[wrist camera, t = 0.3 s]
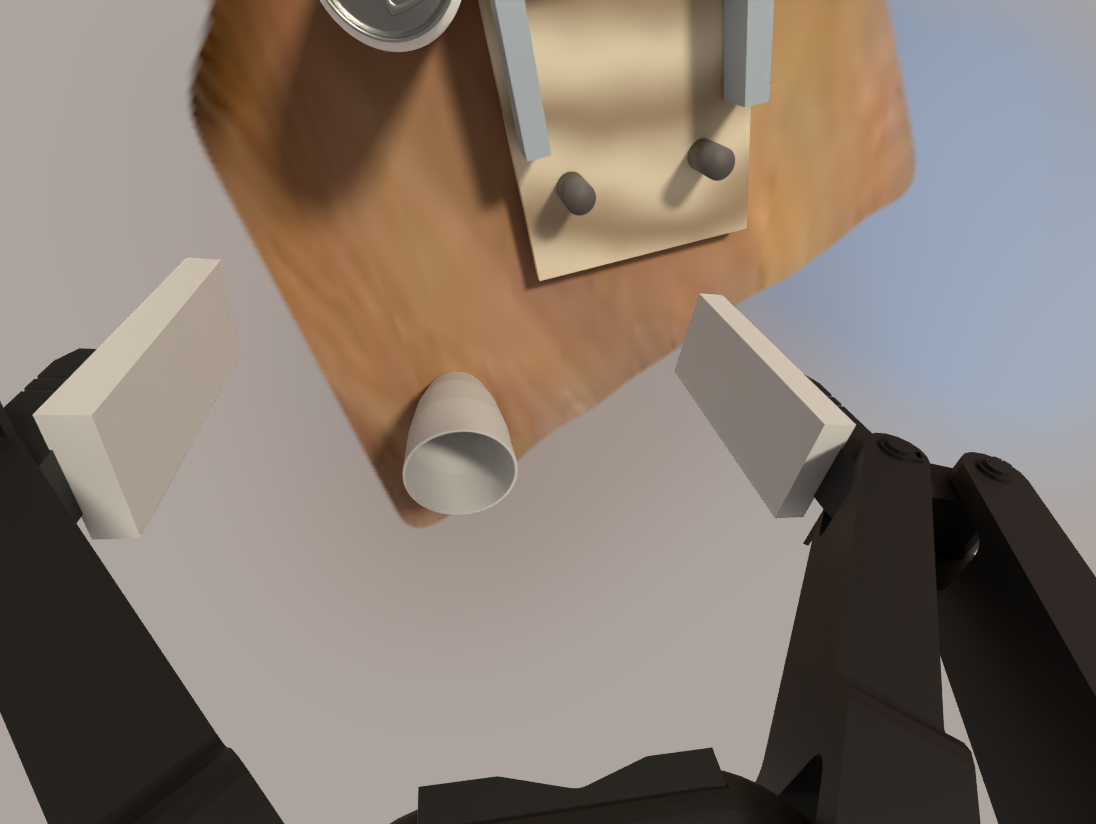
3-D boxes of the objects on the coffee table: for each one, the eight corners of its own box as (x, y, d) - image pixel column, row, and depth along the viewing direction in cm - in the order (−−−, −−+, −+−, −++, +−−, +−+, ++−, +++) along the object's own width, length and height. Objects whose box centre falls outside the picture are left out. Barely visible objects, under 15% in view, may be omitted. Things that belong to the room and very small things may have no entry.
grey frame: (474, -76, 28) (478, -84, 26) (752, -142, 29) (782, -156, 26) (520, 151, 35) (526, 161, 33) (745, 95, 35) (768, 101, 33)
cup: (466, 447, 50) (473, 528, 42) (388, 407, 46) (379, 488, 39) (521, 385, 48) (540, 461, 40) (443, 337, 44) (446, 410, 36)
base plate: (462, -69, 30) (467, -80, 26) (746, -137, 30) (788, -156, 26) (536, 273, 42) (546, 298, 38) (737, 222, 42) (766, 241, 39)
